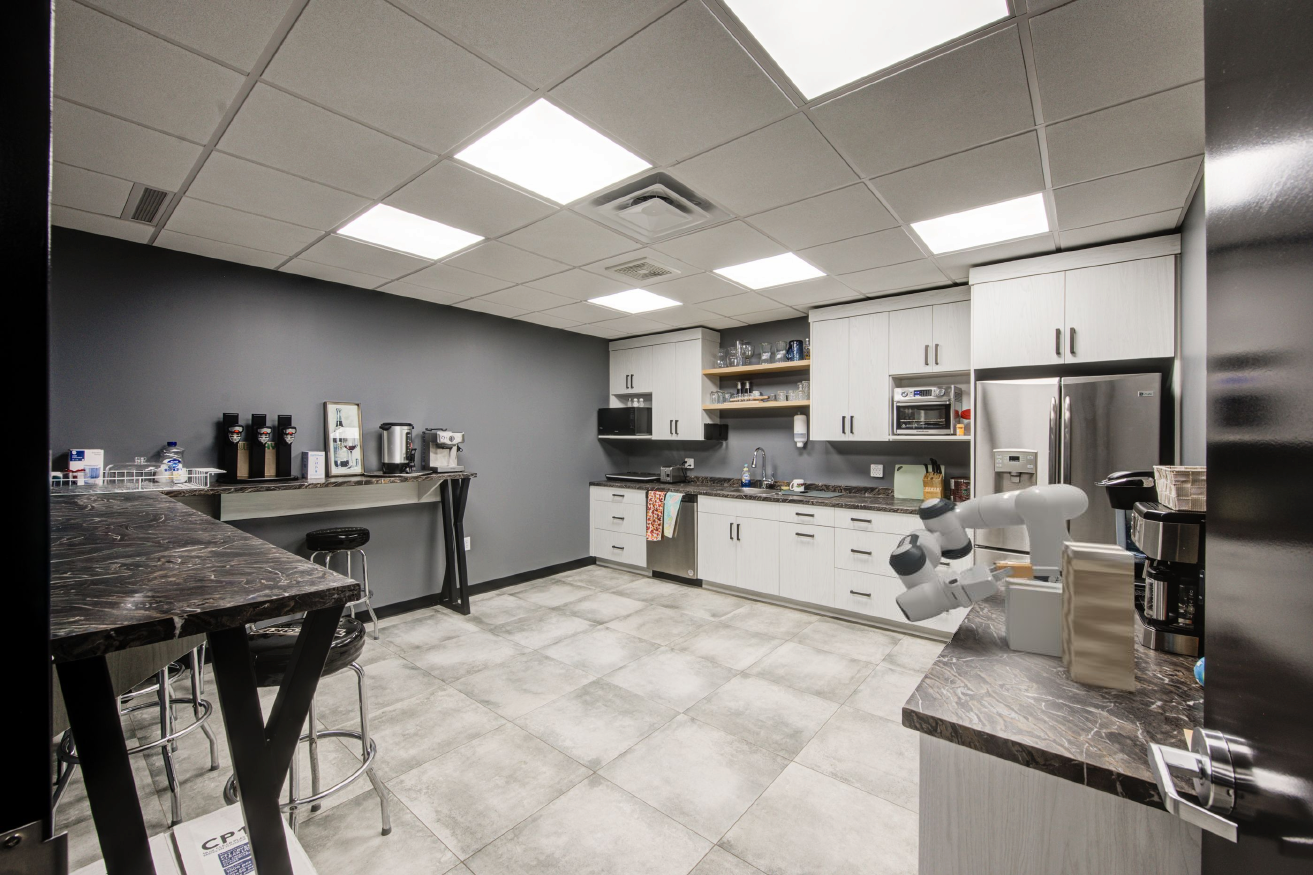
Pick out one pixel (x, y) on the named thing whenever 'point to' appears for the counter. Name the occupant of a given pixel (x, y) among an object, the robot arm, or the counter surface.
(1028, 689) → the counter surface
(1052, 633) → the pedestal
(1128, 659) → the socket tower
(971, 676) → the counter surface
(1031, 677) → the counter surface
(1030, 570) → the plug
